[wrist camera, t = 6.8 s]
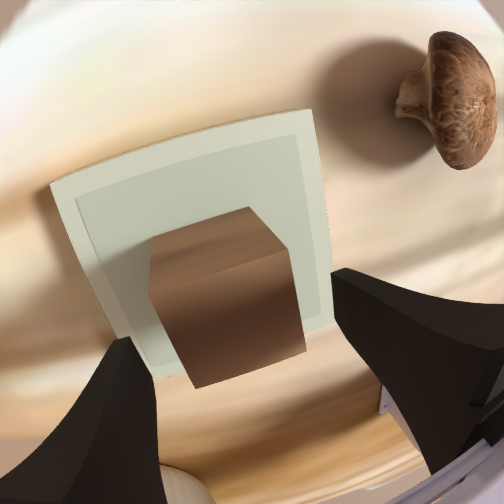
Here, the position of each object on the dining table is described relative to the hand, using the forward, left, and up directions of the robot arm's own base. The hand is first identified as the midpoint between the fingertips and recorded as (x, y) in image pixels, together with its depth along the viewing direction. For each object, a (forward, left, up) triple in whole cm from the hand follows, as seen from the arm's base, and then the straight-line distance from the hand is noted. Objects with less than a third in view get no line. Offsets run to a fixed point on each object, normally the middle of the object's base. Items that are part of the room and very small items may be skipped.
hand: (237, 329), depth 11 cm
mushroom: (+6, -15, -7) cm, 18 cm away
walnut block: (0, 0, -5) cm, 5 cm away
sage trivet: (0, 0, -7) cm, 7 cm away
